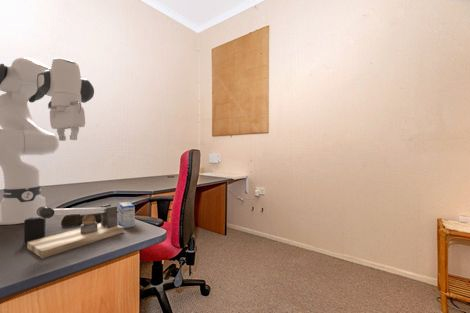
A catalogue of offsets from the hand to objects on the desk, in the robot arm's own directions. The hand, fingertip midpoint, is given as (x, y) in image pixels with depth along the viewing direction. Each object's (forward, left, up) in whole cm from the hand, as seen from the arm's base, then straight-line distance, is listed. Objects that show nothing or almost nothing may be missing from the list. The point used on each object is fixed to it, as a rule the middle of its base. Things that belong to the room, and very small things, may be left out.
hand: (67, 140), depth 85 cm
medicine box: (+12, +16, -34) cm, 40 cm away
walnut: (+13, +1, -30) cm, 33 cm away
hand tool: (-4, +9, -35) cm, 36 cm away
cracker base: (+13, -2, -34) cm, 37 cm away
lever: (+13, -2, -26) cm, 29 cm away
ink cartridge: (+2, -11, -34) cm, 36 cm away
